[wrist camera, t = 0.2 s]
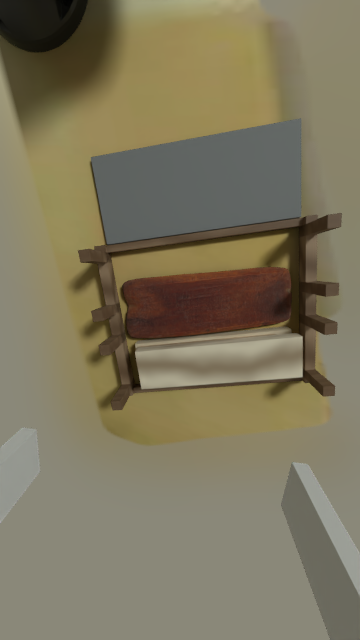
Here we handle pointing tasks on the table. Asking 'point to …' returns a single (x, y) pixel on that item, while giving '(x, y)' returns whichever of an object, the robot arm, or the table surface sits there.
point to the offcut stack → (220, 358)
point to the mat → (201, 183)
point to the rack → (306, 225)
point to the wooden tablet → (207, 302)
